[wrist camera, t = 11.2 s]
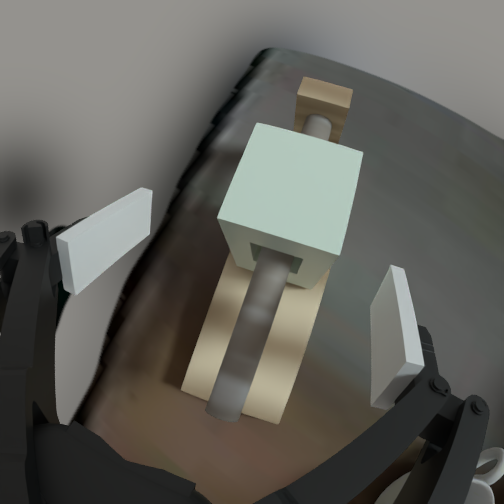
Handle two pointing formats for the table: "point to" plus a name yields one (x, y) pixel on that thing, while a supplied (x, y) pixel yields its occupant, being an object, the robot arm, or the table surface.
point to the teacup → (480, 492)
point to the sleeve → (290, 201)
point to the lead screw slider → (263, 304)
